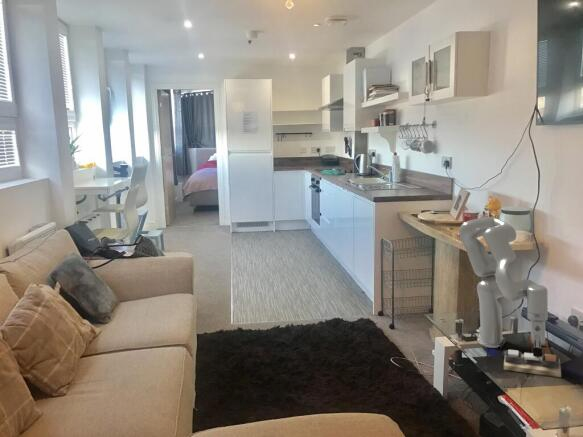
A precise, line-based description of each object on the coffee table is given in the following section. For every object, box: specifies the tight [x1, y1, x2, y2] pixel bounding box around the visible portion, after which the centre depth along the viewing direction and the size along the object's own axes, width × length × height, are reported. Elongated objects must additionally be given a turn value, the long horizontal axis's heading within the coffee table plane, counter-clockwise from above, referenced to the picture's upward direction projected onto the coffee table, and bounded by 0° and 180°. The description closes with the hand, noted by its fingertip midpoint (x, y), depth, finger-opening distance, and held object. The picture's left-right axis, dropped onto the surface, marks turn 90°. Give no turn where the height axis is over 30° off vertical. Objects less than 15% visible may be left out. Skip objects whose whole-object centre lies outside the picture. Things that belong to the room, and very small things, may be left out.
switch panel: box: [503, 349, 562, 378], centre depth 194 cm, size 21×12×4 cm, turn 63°
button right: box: [545, 353, 557, 362], centre depth 190 cm, size 4×4×2 cm
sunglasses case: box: [527, 333, 552, 355], centre depth 208 cm, size 18×7×7 cm
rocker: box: [523, 352, 539, 361], centre depth 194 cm, size 6×4×1 cm
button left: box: [508, 349, 520, 358], centre depth 197 cm, size 4×4×2 cm
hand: (537, 355), depth 192 cm, fingers closed
